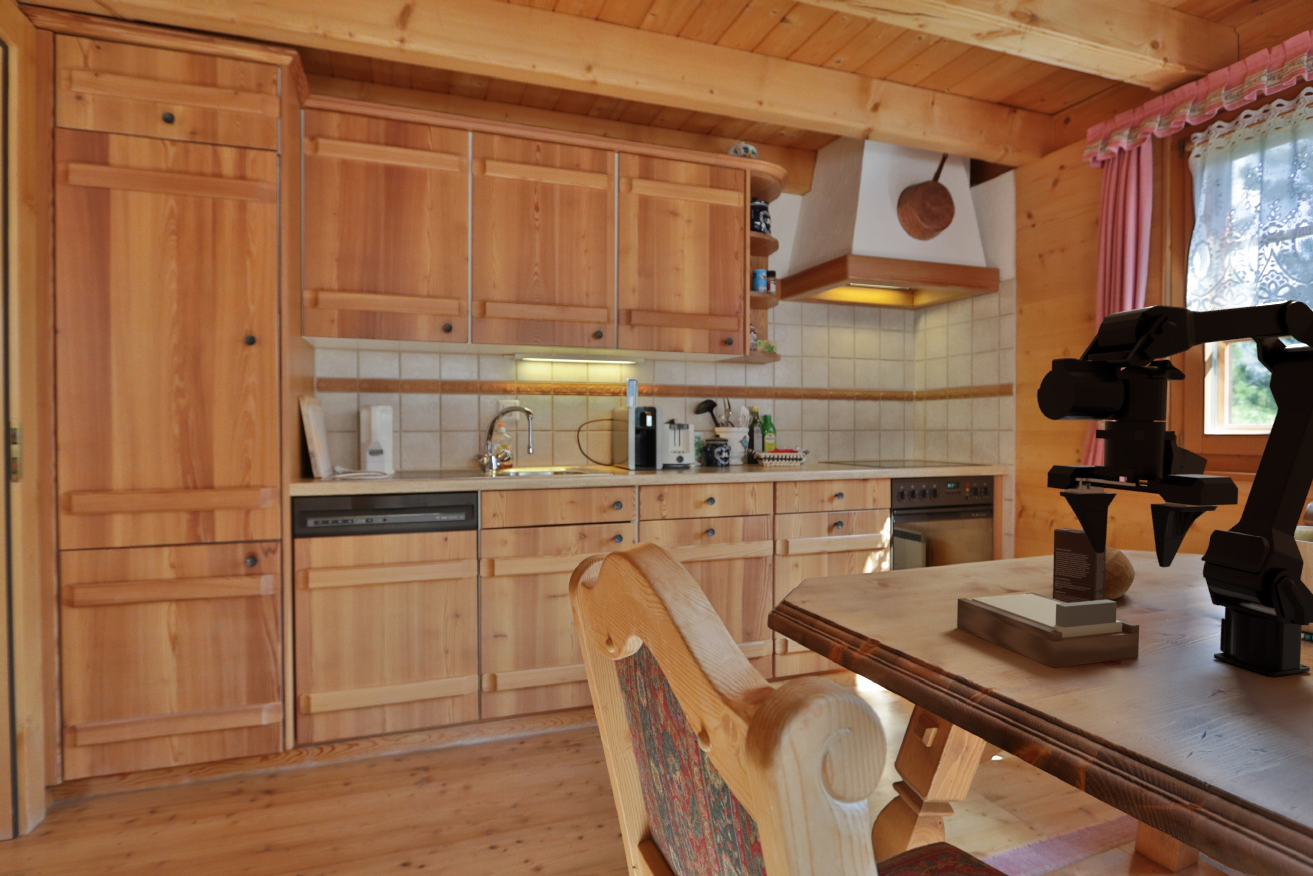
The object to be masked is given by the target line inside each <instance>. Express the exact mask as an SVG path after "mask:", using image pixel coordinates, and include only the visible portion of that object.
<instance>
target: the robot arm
mask: <svg viewBox="0 0 1313 876" xmlns="http://www.w3.org/2000/svg"><path fill="white" fill-rule="evenodd" d="M1287 336H1289V337H1290V336H1291V337H1292V338H1293V339H1294V340H1295V341H1297V342H1299V343H1296V344H1295V343H1293V344H1290V345H1288V346H1287V345H1286V344H1285V343H1284V342H1283V341H1282V340H1281V339H1280V337H1287ZM1244 339H1251V340H1253V341H1254V343H1255V344H1256V355H1257V356H1256V357H1257V360H1258V362H1259V363H1260V364H1262V366H1263V367H1264V368H1266V369H1267V371H1268V372H1270V380H1269V386H1268V387H1269V390H1270V392H1271V395H1272V396H1271V397H1272V398H1273V400H1274V402H1275V405H1276V408H1277V410H1276V414H1275V417H1274V419H1273V423H1272V425H1271V430H1270V432H1269V434H1268V438H1267V440H1266V443H1265V446H1264V449H1263V452H1262V455H1261V457H1260V461H1259V464H1258V468H1256V473H1255V475H1254V479H1253V482H1252V485H1251V487H1250V490H1249V493H1248V497H1247V499H1246V501H1245V504H1244V508H1243V511H1242V514H1241V516H1240V518H1239V519H1240V520H1239V521H1238V522H1237V523H1235V524H1234V526H1232V527H1231V528H1230V529H1227V530H1225V529H1224V530H1223V529H1217V528H1216V529H1214V530H1213V531H1212V533H1211V534H1210V535H1209V536H1210V537H1209V540H1208V541H1209V542H1208V546H1207V549H1206V551H1205V554H1203V555H1202V557H1201V559H1200V560H1201V561H1203V562H1204V563H1203V568H1202V578H1204V579H1205V582H1206V586H1207V589H1208V592H1209V596H1210V600H1211V603H1212V605H1214V606H1219V607H1224V617H1222V618H1221V619H1220V640H1219V650H1220V652H1217V653H1213V658H1214V659H1216V660H1219V661H1222V662H1225V663H1228V664H1232V665H1234V666H1238V667H1241V668H1243V669H1247V670H1251V671H1254V672H1257V673H1260V674H1263V675H1265V676H1270V677H1278V676H1285V675H1291V674H1300V673H1308V672H1310V670H1311V667H1310V666H1308V665H1306V664H1302V663H1301V655H1302V652H1301V651H1302V634H1303V633H1302V631H1303V630H1302V628H1303V626H1310V624H1313V593H1312V591H1311V590H1310V589H1309V588H1308V586H1307V585H1306V584H1305V583H1304V581H1303V580H1302V573H1303V568H1304V558H1303V556H1302V554H1301V551H1300V549H1299V546H1298V543H1297V541H1296V538H1295V533H1296V530H1297V527H1298V524H1299V521H1300V519H1301V515H1302V513H1303V510H1304V506H1305V503H1306V501H1307V497H1308V494H1309V492H1310V489H1311V485H1312V482H1313V309H1312V308H1310V307H1309V306H1308V305H1307V303H1305V302H1303V301H1299V300H1293V299H1288V300H1282V301H1277V302H1269V303H1263V304H1261V303H1260V304H1257V305H1250V306H1241V307H1240V306H1239V307H1233V308H1224V309H1221V308H1220V309H1215V310H1214V309H1211V310H1203V311H1198V310H1191V309H1189V308H1187V307H1183V306H1172V305H1171V306H1170V305H1163V304H1162V305H1160V304H1159V305H1151V306H1147V307H1146V306H1145V307H1141V308H1136V309H1134V308H1133V309H1129V310H1123V311H1118V312H1113V313H1110V314H1108V315H1105V316H1104V318H1103V321H1101V323H1100V325H1099V328H1098V330H1097V333H1096V334H1095V336H1094V337H1093V339H1092V340H1091V341H1090V343H1089V344H1088V346H1087V347H1086V349H1085V350H1084V352H1083V353H1082V355H1081V356H1080V357H1079V359H1078V358H1075V357H1063V358H1053V359H1052V361H1051V370H1049V371H1048V372H1047V373H1045V375H1044V377H1043V378H1042V381H1041V383H1040V385H1039V388H1038V389H1037V393H1036V399H1037V401H1036V402H1037V405H1038V408H1039V410H1040V412H1041V413H1042V414H1043V416H1044V417H1045V418H1047V419H1049V420H1052V421H1090V422H1091V421H1092V422H1093V421H1104V429H1095V439H1099V440H1102V439H1103V441H1104V442H1103V465H1095V464H1094V465H1090V464H1053V465H1052V467H1051V468H1050V469H1049V470H1048V472H1047V480H1046V481H1047V485H1046V486H1047V487H1046V488H1051V489H1056V490H1057V489H1060V490H1064V491H1058V492H1059V496H1060V497H1064V498H1065V500H1066V502H1067V503H1068V505H1069V507H1070V508H1071V510H1072V512H1073V513H1074V515H1075V516H1076V518H1077V520H1078V522H1079V524H1080V526H1081V528H1082V530H1084V532H1085V534H1086V536H1087V538H1088V540H1089V542H1090V544H1091V546H1092V548H1093V550H1094V552H1095V553H1104V551H1105V545H1106V546H1107V535H1108V532H1107V531H1108V514H1109V507H1110V505H1111V504H1112V502H1113V500H1114V499H1115V497H1116V496H1117V492H1109V491H1105V489H1112V490H1113V489H1114V490H1120V491H1127V492H1137V493H1143V494H1144V493H1146V494H1155V495H1159V496H1160V497H1161V498H1162V499H1163V501H1164V503H1150V514H1151V522H1152V529H1153V530H1152V531H1153V539H1154V545H1155V547H1154V548H1155V554H1156V557H1157V558H1156V559H1157V562H1158V565H1159V567H1160V568H1169V567H1170V566H1171V565H1172V563H1173V561H1174V559H1175V557H1176V555H1177V553H1178V551H1179V549H1180V547H1181V545H1182V543H1183V540H1184V538H1185V537H1186V535H1187V533H1188V531H1189V530H1190V528H1191V527H1192V525H1193V524H1194V522H1195V521H1196V520H1197V519H1198V518H1200V516H1202V515H1204V513H1206V512H1214V511H1216V510H1217V508H1218V506H1229V505H1230V506H1233V505H1236V506H1237V505H1238V502H1239V487H1238V486H1237V484H1236V483H1235V482H1234V480H1233V479H1232V477H1231V476H1223V475H1222V476H1221V475H1210V474H1204V473H1205V470H1206V467H1207V463H1208V459H1207V458H1206V457H1204V456H1202V455H1199V454H1197V453H1195V452H1193V451H1192V450H1189V449H1187V448H1183V447H1180V446H1178V444H1177V441H1178V440H1177V439H1178V437H1177V435H1176V430H1167V413H1168V412H1167V410H1168V387H1169V386H1168V384H1169V383H1168V382H1175V381H1176V382H1177V381H1184V380H1185V379H1186V374H1185V373H1184V372H1183V371H1182V370H1181V369H1179V368H1177V367H1176V366H1175V365H1174V364H1173V363H1172V362H1171V359H1166V358H1169V357H1172V356H1175V355H1178V354H1181V353H1184V352H1186V351H1187V352H1188V351H1189V350H1190V349H1192V348H1193V347H1196V346H1198V345H1202V344H1208V343H1218V342H1226V341H1233V340H1234V341H1235V340H1244ZM1156 359H1157V360H1156ZM1120 478H1126V480H1125V481H1121V479H1120Z"/></svg>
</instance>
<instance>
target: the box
mask: <svg viewBox="0 0 1313 876" xmlns="http://www.w3.org/2000/svg"><path fill="white" fill-rule="evenodd" d="M1106 546H1107V544H1106V545H1105V551H1104V553H1095V552H1094V550H1093V548H1092V546H1091V544H1090V542H1089V540H1088V538H1087V536H1086V534H1085V532H1084V530H1083V529H1078V528H1071V527H1070V528H1069V527H1062V528H1055V529H1054V530H1053V571H1052V572H1053V573H1052V574H1053V575H1052V576H1053V577H1052V598H1053V599H1056V600H1059V601H1063V602H1066V603H1073V602H1085V601H1096V600H1106V599H1105V565H1106V563H1105V562H1106Z"/></svg>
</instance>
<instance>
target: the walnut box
mask: <svg viewBox="0 0 1313 876" xmlns="http://www.w3.org/2000/svg"><path fill="white" fill-rule="evenodd" d="M1026 594H1034V595H1037V596H1040V597H1043V598H1047V599H1050V600H1053V601H1056V602H1060V603H1066V602H1063V601H1059V600H1056V599H1053V597H1049V596H1046V595H1042V594H1039V593H1035V592H1027V593H1026ZM956 611H957V615H956V628H957V629H960V630H962V631H964V632H966V633H970V634H972V635H973V636H977V637H979V638H981V639H983V640H985V641H988V642H991V643H993V644H995V645H998V646H1000V647H1003V648H1005V649H1007V650H1010V651H1012V652H1014V653H1017V654H1020V655H1022V656H1025V657H1027V658H1029V659H1031V660H1034V661H1036V662H1038V663H1041V664H1043V665H1046V666H1048V667H1051V668H1061V667H1070V666H1080V665H1087V664H1094V663H1096V664H1097V663H1104V662H1105V663H1106V662H1112V661H1119V660H1121V661H1122V660H1129V659H1137V658H1139V650H1140V648H1139V647H1140V646H1139V645H1140V644H1139V643H1140V624H1138V623H1135V622H1131V621H1127V620H1125V619H1121V618H1118V617H1116V620H1118V621H1121V622H1122V632H1113V633H1104V634H1094V635H1084V636H1075V637H1065V638H1062V632H1059V631H1056V630H1053V629H1051V628H1048V627H1045V626H1042V625H1039V624H1036V623H1034V622H1031V621H1028V620H1025V619H1022V618H1020V617H1017V616H1014V615H1011V614H1008V613H1005V612H1003V611H1000V610H997V609H994V608H991V607H989V606H986V605H983V604H980V603H977V602H974V601H972V599H968V598H966V597H963V598H961V597H960V598H957V609H956Z"/></svg>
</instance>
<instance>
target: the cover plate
mask: <svg viewBox="0 0 1313 876" xmlns="http://www.w3.org/2000/svg"><path fill="white" fill-rule="evenodd" d="M971 600H972V601H974V602H977V603H980V604H983V605H986V606H989V607H991V608H994V609H997V610H1000V611H1003V612H1005V613H1008V614H1011V615H1014V616H1017V617H1020V618H1022V619H1025V620H1028V621H1031V622H1034V623H1036V624H1039V625H1042V626H1045V627H1048V628H1051V629H1053V630H1056V631H1059V632H1062V638H1065V637H1075V636H1084V635H1094V634H1104V633H1113V632H1122V622H1121V621H1118V620H1116V618H1117V601H1114V600H1112V599H1105V600H1096V601H1085V602H1073V603H1060V602H1056V601H1053V600H1050V599H1047V598H1043V597H1040V596H1037V595H1034V594H1027V593H1023V594H1022V593H1021V594H1009V595H999V596H998V595H997V596H986V597H983V596H982V597H972V598H971Z"/></svg>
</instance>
